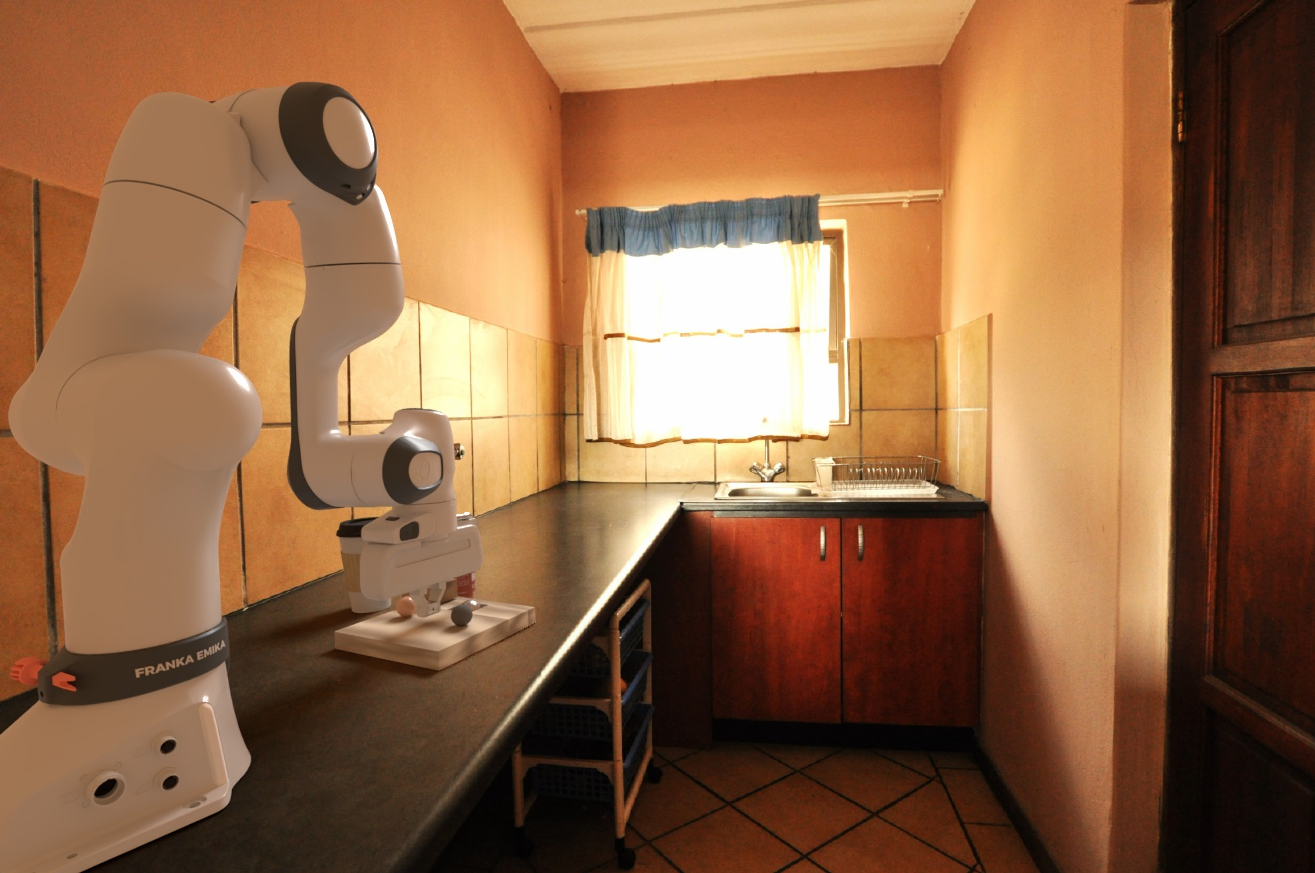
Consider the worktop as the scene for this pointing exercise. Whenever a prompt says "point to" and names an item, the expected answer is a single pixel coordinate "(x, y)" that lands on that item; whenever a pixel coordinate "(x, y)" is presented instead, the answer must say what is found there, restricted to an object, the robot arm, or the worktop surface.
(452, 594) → the cover
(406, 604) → the terracotta ball
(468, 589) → the pill bottle
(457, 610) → the black rubber ball
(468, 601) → the steel ball
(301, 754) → the worktop surface
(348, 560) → the coffee cup
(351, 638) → the board
